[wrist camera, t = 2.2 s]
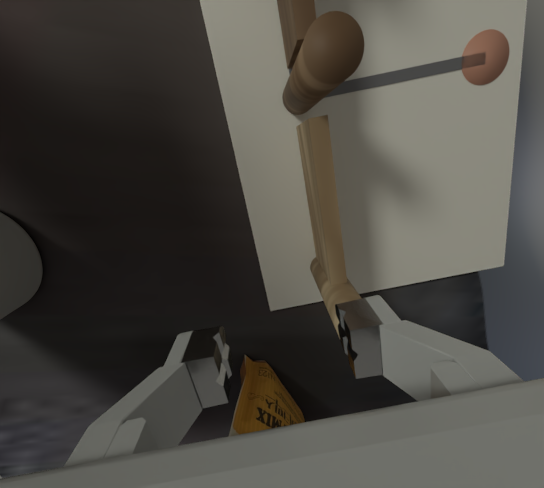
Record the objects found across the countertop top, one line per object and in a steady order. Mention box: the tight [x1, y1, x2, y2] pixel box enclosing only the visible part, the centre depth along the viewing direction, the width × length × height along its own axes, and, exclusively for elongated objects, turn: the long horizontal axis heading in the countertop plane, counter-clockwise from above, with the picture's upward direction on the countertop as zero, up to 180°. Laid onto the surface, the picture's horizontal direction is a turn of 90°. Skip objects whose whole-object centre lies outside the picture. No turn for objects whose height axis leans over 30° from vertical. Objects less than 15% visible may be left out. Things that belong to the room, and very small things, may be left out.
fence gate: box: [296, 115, 362, 338], centre depth 23 cm, size 3×16×12 cm, turn 11°
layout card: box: [200, 0, 527, 311], centre depth 26 cm, size 28×41×1 cm
